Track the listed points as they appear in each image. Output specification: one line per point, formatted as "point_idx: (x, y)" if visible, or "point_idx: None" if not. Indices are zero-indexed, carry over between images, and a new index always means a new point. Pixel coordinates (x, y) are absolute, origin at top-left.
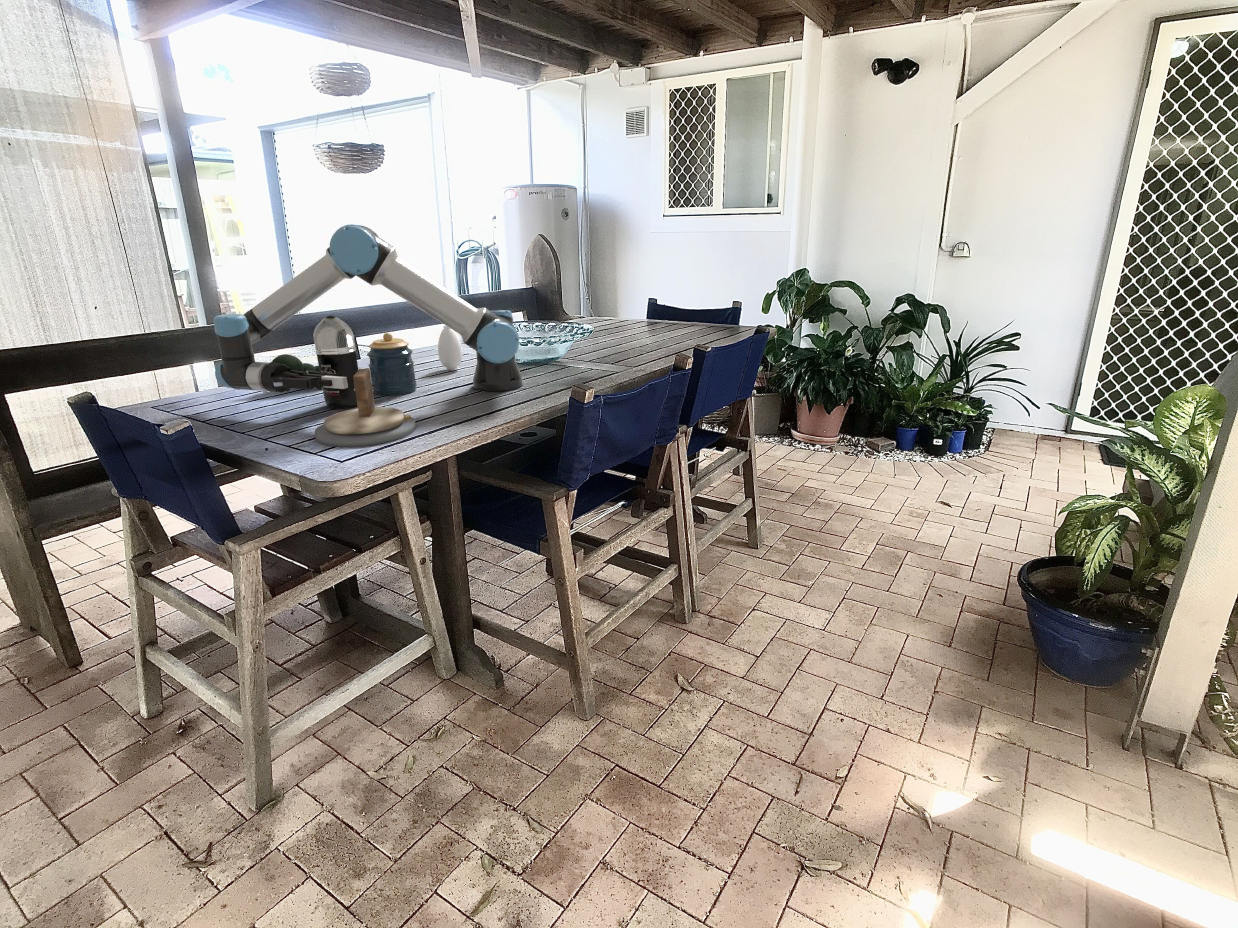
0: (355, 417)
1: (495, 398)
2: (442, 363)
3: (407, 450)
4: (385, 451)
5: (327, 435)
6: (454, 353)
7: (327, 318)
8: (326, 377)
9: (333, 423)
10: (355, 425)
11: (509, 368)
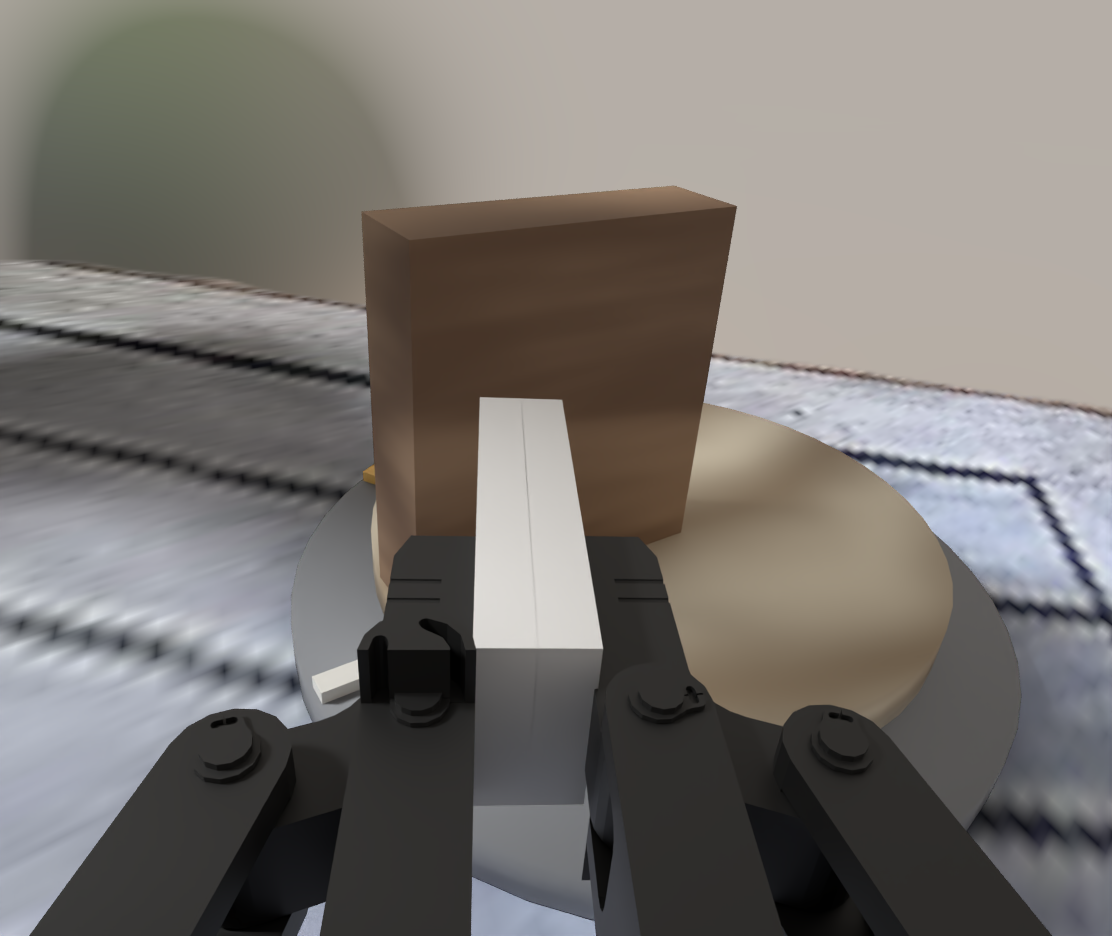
0: (698, 548)
1: None
2: None
3: (755, 390)
4: (818, 428)
5: (955, 643)
6: None
7: None
8: (586, 566)
9: (899, 582)
10: (824, 475)
11: None
